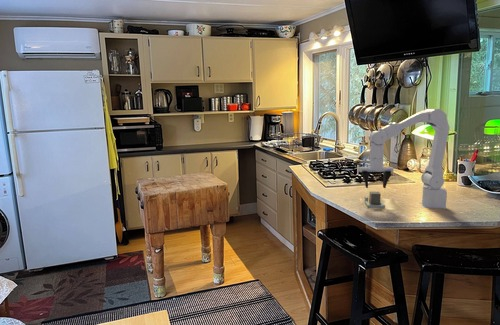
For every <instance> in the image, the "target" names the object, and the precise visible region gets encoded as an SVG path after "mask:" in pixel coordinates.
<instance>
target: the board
mask: <svg viewBox="0 0 500 325" xmlns="http://www.w3.org/2000/svg"><path fill="white" fill-rule="evenodd" d="M358 199H359V201H360V203H361V204H362V206H363V208H364V209H365V210H384V211H385V210H388V211H389V210H392V211H394V210H395V211H405V208H403V206H401V204H399V202H398V201H397V200H396V199H395V198H380V201H382V202H383V203H384V205H385V208H367V206H366V205H365V197H362V198H361V197H360V198H358ZM368 203H369V197H368Z"/></svg>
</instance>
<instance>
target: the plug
mask: <svg viewBox="0 0 500 325" xmlns="http://www.w3.org/2000/svg"><path fill="white" fill-rule="evenodd" d="M381 197H382V196H381V193H380V191H369V196H368V198H369V205H380V199H381Z"/></svg>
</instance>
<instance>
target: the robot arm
mask: <svg viewBox="0 0 500 325" xmlns="http://www.w3.org/2000/svg"><path fill="white" fill-rule="evenodd" d="M419 123H426V124H428V125H429V126H430V127H432V128H431V129H433V130H434V136H433V140H432V145H431V151H430V155H429V161H428V164H427V166H426V167H425V169H424V172H423V173H422V175H421V177H420V180H421V181H422V183H423V186H422V195H421V196H422V198H421V202H419V203H418V204H419V205H421V207H423V208H425V209H444V210H447V197H448V195H447V189H446V188H445V187H443V186H444V184H445V179H444V170H443V167H442V165H443V163H444V157H445V152H446V148H447V144H448V143H447V142H448V136H449V133H450V124H449V121H448V115H447V113H445V111H444V110H442V109H441V108H425V109H424V110H420V111H418V112H416V113H415V114H413V115H411V116H409V117H407V118H406V119H404V120H402V121H400V122H388V125H385V126H384V127H378V130H373V131H372V132H371V133H370V134H369V137H368V140H369V142H370V147H369V166H358V173H361V175H362V177H363V180H364V185H365V188H366V189H368V188H369V173H382V174H383V175H382V176H383V182H382V187H383V189H386V187H387V184H388V182H389V179H390V178H391V175H392V173H394V169H395V168H394V167H391V166H384V155H385V154H384V152H385V149H384V147H385V146H384V145H385V143H386V141H389V140H390V139H392V138H395V137H396V136H399V135H400V134H401V133H402V131H403V130H406V129H407V128H409V127H412V126H414V125H416V124H419Z"/></svg>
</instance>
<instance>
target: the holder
mask: <svg viewBox="0 0 500 325" xmlns="http://www.w3.org/2000/svg"><path fill="white" fill-rule="evenodd" d="M365 205H366V206H367V208H385V205H384V203H383V202H382V201H380V205H369V203H368V202H367V201H365Z"/></svg>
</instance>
